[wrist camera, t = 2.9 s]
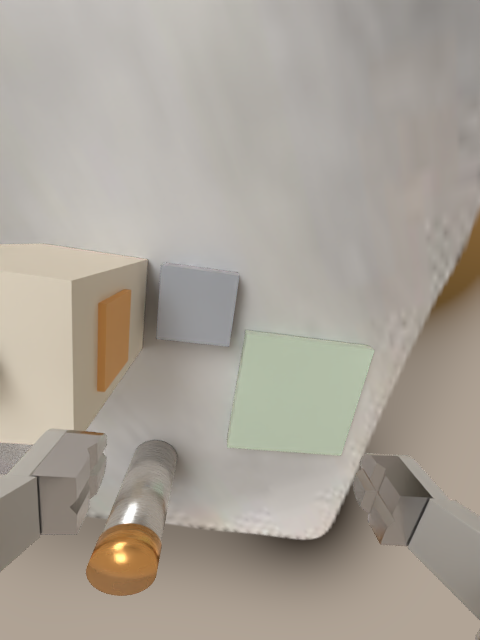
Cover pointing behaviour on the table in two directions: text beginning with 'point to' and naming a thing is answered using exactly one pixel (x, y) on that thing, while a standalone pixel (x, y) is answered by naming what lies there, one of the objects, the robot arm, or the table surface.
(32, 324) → the box
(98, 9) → the table surface
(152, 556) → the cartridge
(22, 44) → the table surface
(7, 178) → the table surface
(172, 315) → the cover plate
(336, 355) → the pad
